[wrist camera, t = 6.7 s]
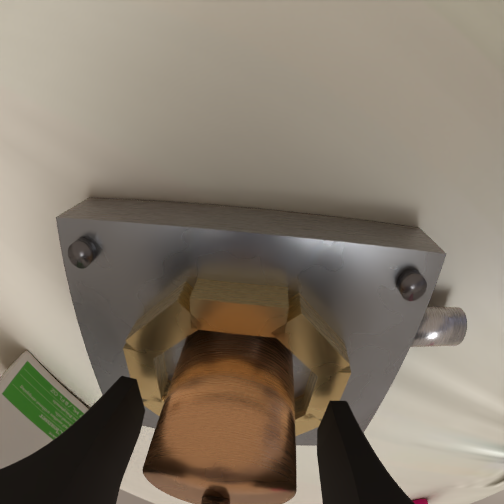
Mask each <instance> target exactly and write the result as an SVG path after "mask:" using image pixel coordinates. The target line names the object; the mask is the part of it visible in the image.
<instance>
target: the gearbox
mask: <svg viewBox="0 0 504 504" xmlns="http://www.w3.org/2000/svg"><path fill="white" fill-rule="evenodd" d="M56 220H57V227H58V233H59V240H60V245H61V251H62V256H63V261H64V266H65V271H66V276H67V280H68V285H69V289H70V293H71V297H72V301H73V305H74V309H75V313H76V317H77V320H78V324H79V327H80V331H81V334H82V337H83V340H84V344H85V347H86V350H87V353H88V356H89V359H90V362H91V365H92V368H93V370H94V373H95V376H96V379H97V381H98V384H99V387H100V389H101V392H102V394H103V395H104V394H105V392H106V391H107V390H108V389H109V388H110V387H111V386H112V385H113V384H114V383H115V382H116V381H117V380H118V379H119V377H121V376H125V377H130V378H134V379H137V382H138V386H139V390H140V394H141V397H142V401H143V404H144V408H145V414H144V418H143V423H142V425H143V426H147V427H152V428H156V426H157V422H158V419H159V416H160V413H161V410H162V407H163V404H164V401H165V398H166V395H167V392H168V389H169V386H170V383H171V380H172V378H173V375H174V372H175V369H176V366H177V363H178V360H179V357H180V354H181V351H182V349H183V346H184V343H185V341H186V339H187V337H188V336H189V335H191V334H192V333H194V332H195V331H197V330H198V329H199V330H207V331H215V332H223V333H232V334H242V335H252V336H262V337H274V338H277V339H278V340H279V341H280V342H281V343H282V344H283V345H284V346H285V347H286V348H287V349H289V350H290V351H291V353H292V358H293V376H294V402H295V435H296V445H317V430H318V427H319V425H320V423H321V420H322V418H323V416H324V413H325V411H326V409H327V406H328V404H329V401H347V402H348V404H349V406H350V408H351V410H352V412H353V414H354V416H355V418H356V420H357V422H358V424H359V426H360V428H361V430H362V432H363V433H364V431H365V429H366V428H367V426H368V425H369V423H370V421H371V420H372V418H373V416H374V415H375V413H376V411H377V409H378V408H379V406H380V404H381V402H382V401H383V399H384V397H385V395H386V394H387V392H388V390H389V388H390V386H391V384H392V382H393V380H394V379H395V377H396V375H397V373H398V371H399V369H400V367H401V365H402V363H403V361H404V359H405V357H406V354H407V352H408V350H409V348H410V347H425V346H454V345H458V344H460V343H461V342H462V341H463V339H464V337H465V334H466V330H467V319H466V315H465V313H464V311H463V310H462V309H461V308H457V307H427V306H428V304H429V301H430V299H431V296H432V293H433V291H434V288H435V285H436V283H437V280H438V277H439V274H440V271H441V268H442V265H443V262H444V259H445V256H446V253H445V252H444V251H443V250H442V249H441V248H440V247H439V246H438V245H437V244H436V243H435V242H434V241H433V240H432V239H431V238H430V237H428V236H427V235H426V234H425V233H424V232H423V231H422V230H421V229H420V228H416V227H410V226H403V225H396V224H388V223H381V222H373V221H366V220H358V219H350V218H342V217H333V216H325V215H316V214H307V213H297V212H288V211H278V210H268V209H257V208H246V207H234V206H222V205H210V204H196V203H182V202H167V201H150V200H131V199H109V198H87V199H86V200H84V201H82V202H81V203H79V204H77V205H76V206H74V207H72V208H71V209H69V210H67V211H66V212H64V213H62V214H61V215H59V216H58V217H56Z"/></svg>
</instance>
